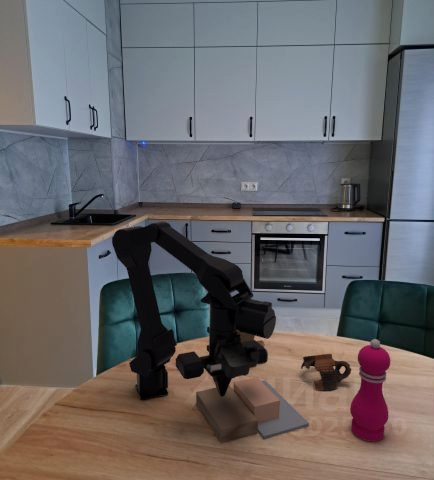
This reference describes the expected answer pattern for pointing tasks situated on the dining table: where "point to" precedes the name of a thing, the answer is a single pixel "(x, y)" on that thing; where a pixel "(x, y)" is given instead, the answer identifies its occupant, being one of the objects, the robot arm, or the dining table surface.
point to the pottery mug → (327, 370)
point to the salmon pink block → (258, 399)
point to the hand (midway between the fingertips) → (221, 395)
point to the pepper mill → (370, 393)
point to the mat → (281, 418)
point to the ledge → (226, 414)
